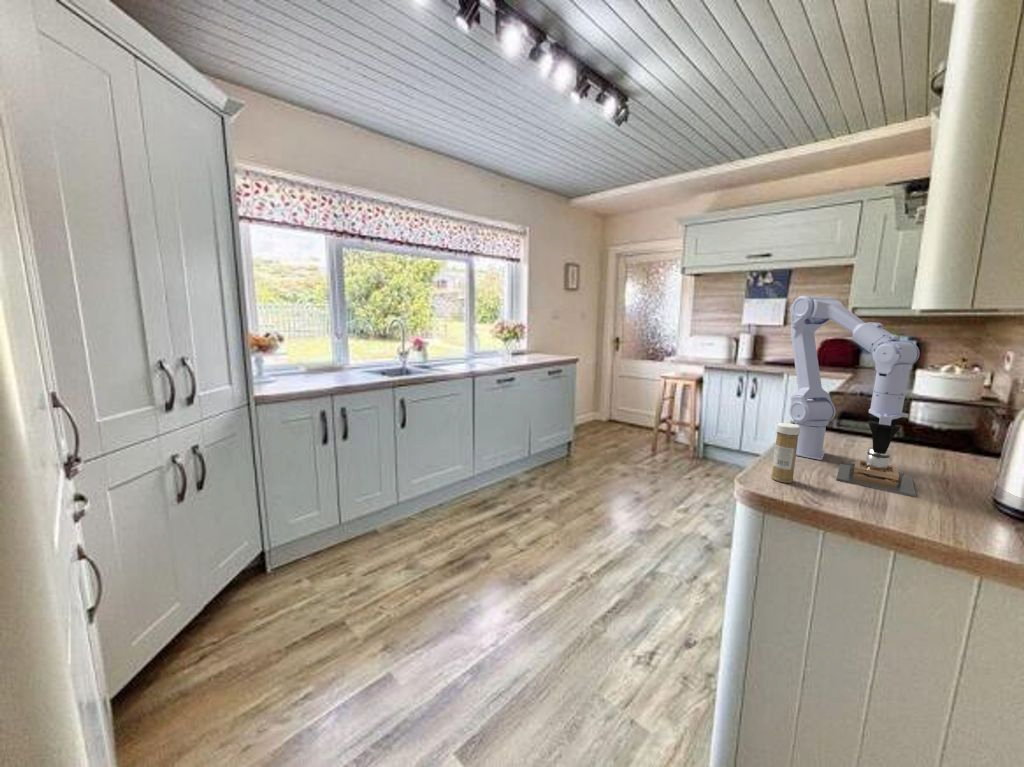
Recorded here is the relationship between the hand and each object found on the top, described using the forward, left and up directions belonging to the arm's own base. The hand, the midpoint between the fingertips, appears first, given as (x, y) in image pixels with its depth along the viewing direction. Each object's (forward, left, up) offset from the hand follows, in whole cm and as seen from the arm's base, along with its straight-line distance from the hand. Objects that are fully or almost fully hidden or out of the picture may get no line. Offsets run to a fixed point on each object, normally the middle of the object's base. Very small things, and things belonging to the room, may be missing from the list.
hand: (879, 449), depth 105 cm
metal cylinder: (0, 0, -7) cm, 7 cm away
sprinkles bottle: (+16, -17, -8) cm, 25 cm away
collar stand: (0, 0, -8) cm, 8 cm away
